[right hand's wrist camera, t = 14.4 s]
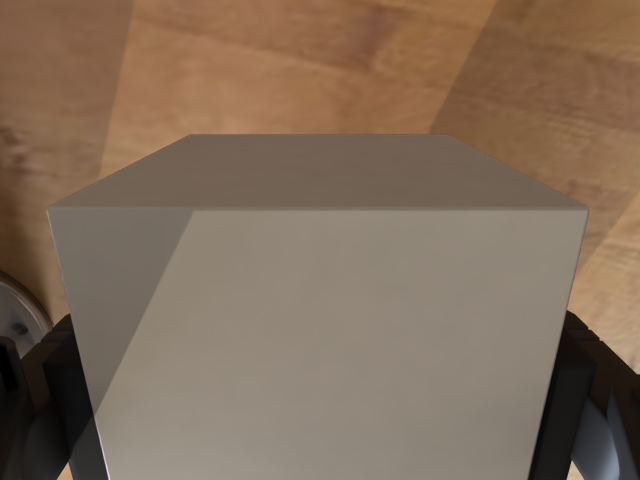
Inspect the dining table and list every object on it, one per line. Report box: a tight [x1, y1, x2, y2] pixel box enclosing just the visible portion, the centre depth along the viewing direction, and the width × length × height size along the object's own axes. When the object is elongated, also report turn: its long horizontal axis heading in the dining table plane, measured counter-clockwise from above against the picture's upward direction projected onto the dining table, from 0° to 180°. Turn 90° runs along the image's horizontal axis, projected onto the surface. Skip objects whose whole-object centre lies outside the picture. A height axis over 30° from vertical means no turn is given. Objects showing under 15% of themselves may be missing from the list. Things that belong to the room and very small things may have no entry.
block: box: [46, 134, 589, 480], centre depth 11 cm, size 8×8×7 cm
